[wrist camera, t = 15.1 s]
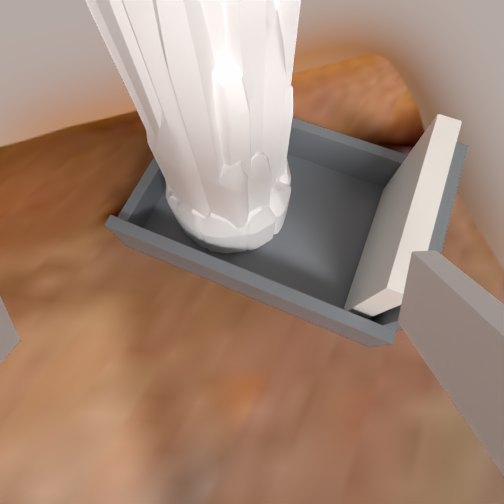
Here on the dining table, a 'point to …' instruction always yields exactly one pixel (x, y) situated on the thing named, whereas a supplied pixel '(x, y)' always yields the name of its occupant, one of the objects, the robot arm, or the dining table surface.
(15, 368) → the dining table surface
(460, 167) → the grey tray
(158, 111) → the decorative vase
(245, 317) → the dining table surface
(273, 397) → the dining table surface
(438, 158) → the plate
